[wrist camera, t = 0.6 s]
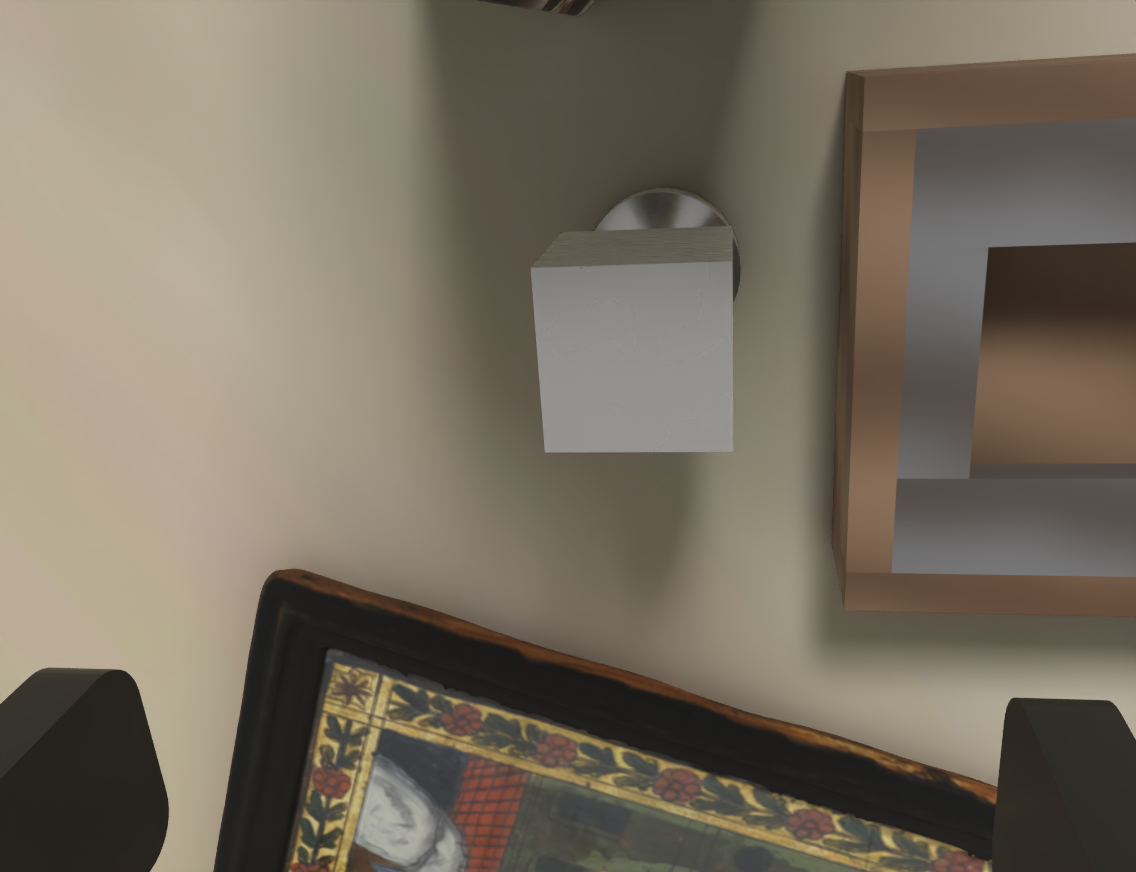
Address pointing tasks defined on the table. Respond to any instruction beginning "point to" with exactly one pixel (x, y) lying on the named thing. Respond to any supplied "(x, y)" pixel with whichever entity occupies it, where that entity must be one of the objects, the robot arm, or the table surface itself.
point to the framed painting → (544, 762)
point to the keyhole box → (988, 339)
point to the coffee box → (550, 5)
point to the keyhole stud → (639, 329)
